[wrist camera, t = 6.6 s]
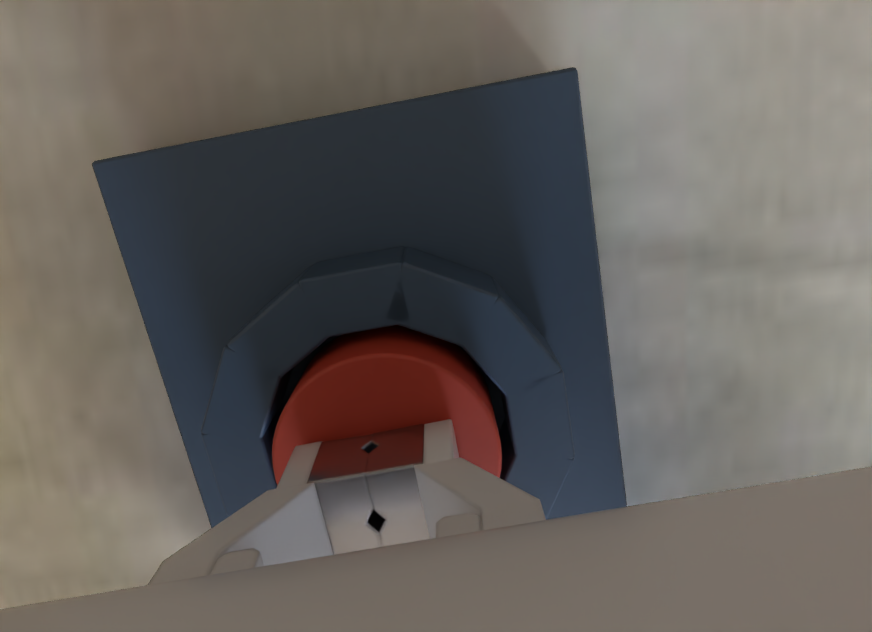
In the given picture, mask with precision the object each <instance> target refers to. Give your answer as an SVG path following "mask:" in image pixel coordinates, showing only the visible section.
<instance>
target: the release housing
mask: <svg viewBox="0 0 872 632" xmlns="http://www.w3.org/2000/svg"><path fill="white" fill-rule="evenodd" d="M92 166H93V169H94V172H95V175H96V178H97V181H98V184H99V187H100V190H101V193H102V196H103V199H104V203H105V206H106V209H107V212H108V215H109V218H110V221H111V224H112V227H113V230H114V233H115V236H116V239H117V242H118V245H119V248H120V251H121V254H122V257H123V260H124V263H125V266H126V269H127V272H128V275H129V278H130V282H131V285H132V288H133V291H134V294H135V297H136V300H137V303H138V306H139V309H140V312H141V315H142V318H143V321H144V324H145V327H146V330H147V333H148V336H149V339H150V342H151V345H152V348H153V351H154V354H155V357H156V360H157V364H158V367H159V370H160V373H161V376H162V379H163V382H164V385H165V388H166V391H167V394H168V397H169V400H170V403H171V406H172V409H173V412H174V415H175V418H176V421H177V424H178V427H179V430H180V433H181V436H182V439H183V443H184V446H185V449H186V452H187V455H188V458H189V461H190V464H191V467H192V470H193V473H194V476H195V479H196V482H197V485H198V488H199V491H200V494H201V497H202V500H203V503H204V506H205V509H206V512H207V515H208V518H209V522H210V525H211V528H213V527H214V526H216V525H217V524H219V523H220V522H222V521H223V520H225V519H226V518H228V517H229V516H231V515H232V514H234V513H235V512H237V511H238V510H239V509H241V508H242V507H244V506H245V505H247V504H248V503H250V502H251V501H253V500H254V499H256V498H257V497H259V496H260V495H262V494H263V493H265V492H266V491H268V490H271V489H276V488H277V486H278V485H277V483H276V480H275V475H274V470H273V463H272V445H273V437H274V433H275V429H276V425H277V423H278V420H279V417H280V415H281V413H282V411H283V409H284V407H285V405H286V403H287V402H288V400H289V398H290V396H291V394H292V393H293V391H294V389H295V387H296V385H297V383H298V382H299V380H300V378H301V376H302V374H303V373H304V371H305V369H306V367H307V366H308V364H309V363H310V362H311V360H312V359H313V358H314V357H315V355H316V354H317V353H318V352H319V351H321V350H322V349H323V348H324V347H325V346H326V345H327V344H329V343H330V342H331V341H333V340H334V339H336V338H338V337H339V336H341V335H343V334H349V333H354V332H360V331H366V330H371V329H377V328H382V327H388V326H393V325H400V326H403V327H406V328H409V329H412V330H415V331H418V332H421V333H424V334H427V335H430V336H433V337H436V338H439V339H442V340H445V341H448V342H450V343H453V344H456V345H457V346H459V347H460V348H461V349H462V350H463V351H464V352H465V353H466V354H467V355H468V356H469V357H470V358H471V359H472V361H473V362H474V363H475V364H476V366H477V367H478V369H479V370H480V372H481V374H482V376H483V377H484V379H485V382H486V384H487V387H488V389H489V393H490V397H491V401H492V406H493V410H494V414H495V419H496V423H497V427H498V432H499V436H500V441H501V449H502V467H501V473H500V479H502V480H504V481H506V482H508V483H510V484H512V485H514V486H515V487H517V488H519V489H521V490H523V491H525V492H527V493H528V494H530V495H532V496H534V497H536V498H538V499H540V502H541V505H542V508H543V512H544V515H545V518H546V520H548V519H555V518H561V517H567V516H573V515H579V514H585V513H591V512H597V511H603V510H609V509H616V508H622V507H627V503H626V494H625V486H624V477H623V468H622V459H621V450H620V442H619V433H618V424H617V415H616V407H615V398H614V389H613V380H612V371H611V363H610V354H609V345H608V336H607V327H606V319H605V310H604V301H603V292H602V283H601V275H600V266H599V257H598V248H597V240H596V231H595V222H594V213H593V204H592V196H591V187H590V178H589V169H588V160H587V152H586V143H585V134H584V125H583V117H582V108H581V99H580V90H579V81H578V73H577V70H576V68H573V67H572V68H567V69H562V70H557V71H552V72H547V73H542V74H537V75H532V76H526V77H521V78H516V79H511V80H506V81H501V82H496V83H491V84H486V85H480V86H475V87H470V88H465V89H460V90H455V91H450V92H445V93H439V94H434V95H429V96H424V97H419V98H414V99H409V100H404V101H399V102H393V103H388V104H383V105H378V106H373V107H368V108H363V109H358V110H353V111H347V112H342V113H337V114H332V115H327V116H322V117H317V118H312V119H307V120H301V121H296V122H291V123H286V124H281V125H276V126H271V127H266V128H261V129H255V130H250V131H245V132H240V133H235V134H230V135H225V136H220V137H215V138H209V139H204V140H199V141H194V142H189V143H184V144H179V145H174V146H168V147H163V148H158V149H153V150H148V151H143V152H138V153H133V154H128V155H122V156H117V157H112V158H107V159H102V160H97V161H94V162H93V163H92Z"/></svg>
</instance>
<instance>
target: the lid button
mask: <svg viewBox="0 0 872 632" xmlns="http://www.w3.org/2000/svg"><path fill="white" fill-rule="evenodd" d="M447 419H451V420H452V424H453V428H454V432H455V438H456V443H457V448H458V453H459V458H463V459H465V460H467V461H469V462H471V463H472V464H474V465H476V466H478V467H480V468H482V469H484V470H486V471H487V472H489V473H491V474H493V475H495V476H497V477H499V478H500V473H501V467H502V449H501V441H500V436H499V432H498V427H497V423H496V419H495V414H494V410H493V406H492V401H491V397H490V393H489V389H488V387H487V384H486V382H485V379H484V377H483V376H482V374H481V372H480V370H479V369H478V367H477V366H476V364H475V363H474V362H473V361H472V359H471V358H470V357H469V356H468V355H467V354H466V353H465V352H464V351H463V350H462V349H461V348H460V347H459V346H457V345H456V344H453V343H450V342H448V341H445V340H442V339H439V338H436V337H433V336H430V335H427V334H424V333H421V332H418V331H415V330H412V329H409V328H406V327H403V326H400V325H393V326H388V327H382V328H377V329H371V330H366V331H360V332H354V333H349V334H343V335H341V336H339V337H338V338H336V339H334V340H333V341H331V342H330V343H329V344H327V345H326V346H325V347H324V348H323V349H322V350H321V351H319V352H318V353H317V354H316V355H315V357H314V358H313V359H312V360H311V362H310V363H309V364H308V366H307V367H306V369H305V371H304V373H303V374H302V376H301V378H300V380H299V382H298V383H297V385H296V387H295V389H294V391H293V393H292V394H291V396H290V398H289V400H288V402H287V403H286V405H285V407H284V409H283V411H282V413H281V415H280V417H279V420H278V423H277V425H276V429H275V433H274V437H273V445H272V463H273V470H274V475H275V480H276V483H277V485H278V483H279V481H280V479H281V477H282V474H283V472H284V470H285V468H286V466H287V463H288V461H289V459H290V457H291V454H292V452H293V450H294V448H295V446H299V445H304V444H309V443H314V442H319V441H322V442H324V441H330V440H337V439H343V438H350V437H356V436H362V435H369V434H373V433H378V432H383V431H388V430H393V429H398V428H403V427H408V426H413V425H419V424H428V423H433V422H437V421H442V420H447Z"/></svg>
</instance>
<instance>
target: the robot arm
mask: <svg viewBox="0 0 872 632" xmlns="http://www.w3.org/2000/svg"><path fill="white" fill-rule="evenodd" d="M0 632H872V467H865V468H859V469H853V470H847V471H841V472H835V473H829V474H823V475H817V476H811V477H805V478H798V479H792V480H786V481H780V482H774V483H768V484H762V485H756V486H750V487H744V488H737V489H731V490H725V491H719V492H713V493H707V494H701V495H695V496H689V497H683V498H676V499H670V500H664V501H658V502H652V503H646V504H640V505H634V506H628V507H622V508H616V509H609V510H603V511H597V512H591V513H585V514H579V515H573V516H567V517H561V518H555V519H548V520H546V518H545V515H544V512H543V508H542V505H541V502H540V499H538V498H536V497H534V496H532V495H530V494H528V493H527V492H525V491H523V490H521V489H519V488H517V487H515V486H514V485H512V484H510V483H508V482H506V481H504V480H502V479H500V478H499V477H497V476H495V475H493V474H491V473H489V472H487V471H486V470H484V469H482V468H480V467H478V466H476V465H474V464H472V463H471V462H469V461H467V460H465V459H463V458H459V453H458V448H457V443H456V438H455V432H454V428H453V424H452V420H451V419H447V420H442V421H437V422H433V423H428V424H419V425H413V426H408V427H403V428H398V429H393V430H388V431H383V432H378V433H373V434H369V435H362V436H356V437H350V438H343V439H337V440H330V441H324V442H322V441H319V442H314V443H309V444H304V445H299V446H295V448H294V450H293V452H292V454H291V457H290V459H289V461H288V463H287V466H286V468H285V470H284V472H283V474H282V477H281V479H280V481H279V483H278V486H277V488H276V489H271V490H268V491H266V492H265V493H263V494H262V495H260V496H259V497H257V498H256V499H254V500H253V501H251V502H250V503H248V504H247V505H245V506H244V507H242V508H241V509H239V510H238V511H237V512H235V513H234V514H232V515H231V516H229V517H228V518H226V519H225V520H223V521H222V522H220V523H219V524H217V525H216V526H214V527H213V528H211V529H210V530H208V531H207V532H205V533H204V534H203V535H201V536H200V537H198V538H197V539H195V540H194V541H192V542H191V543H189V544H188V545H186V546H185V547H183V548H182V549H180V550H179V551H177V552H176V553H174V554H173V555H171V556H170V557H169V558H167V559H166V560H164V561H163V562H162V563H161V565H160V566H159V568H158V570H157V571H156V573H155V574H154V576H153V577H152V579H151V580H150V582H149V584H148V585H146V586H139V587H133V588H127V589H121V590H115V591H109V592H103V593H97V594H91V595H85V596H78V597H72V598H66V599H60V600H54V601H48V602H42V603H36V604H30V605H24V606H17V607H11V608H5V609H0Z"/></svg>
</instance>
